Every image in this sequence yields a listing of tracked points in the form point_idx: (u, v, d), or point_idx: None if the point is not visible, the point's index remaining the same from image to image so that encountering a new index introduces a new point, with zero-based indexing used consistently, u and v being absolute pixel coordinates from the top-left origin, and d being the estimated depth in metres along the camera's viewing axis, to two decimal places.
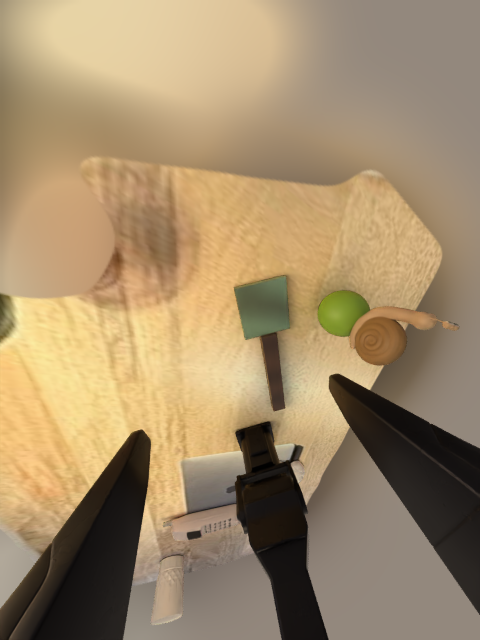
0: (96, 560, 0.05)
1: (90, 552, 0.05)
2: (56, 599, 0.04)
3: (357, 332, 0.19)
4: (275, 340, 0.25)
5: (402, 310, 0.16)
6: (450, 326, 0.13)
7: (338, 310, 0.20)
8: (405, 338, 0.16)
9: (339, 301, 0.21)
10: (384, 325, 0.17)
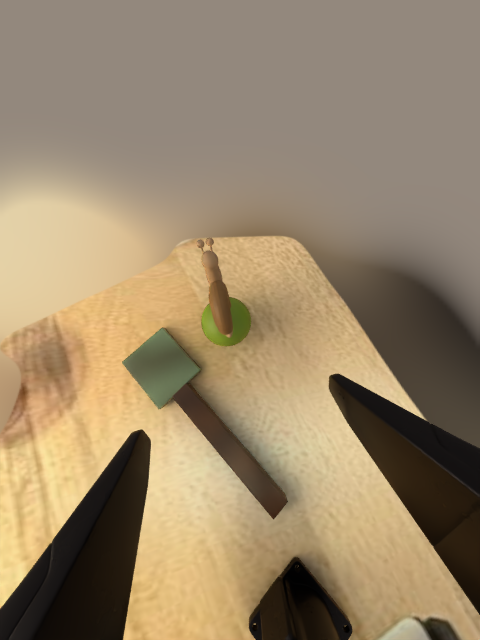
0: (96, 560, 0.05)
1: (90, 552, 0.05)
2: (56, 599, 0.04)
3: None
4: (189, 390, 0.21)
5: None
6: (198, 242, 0.13)
7: (203, 317, 0.20)
8: (216, 283, 0.14)
9: (203, 312, 0.20)
10: None
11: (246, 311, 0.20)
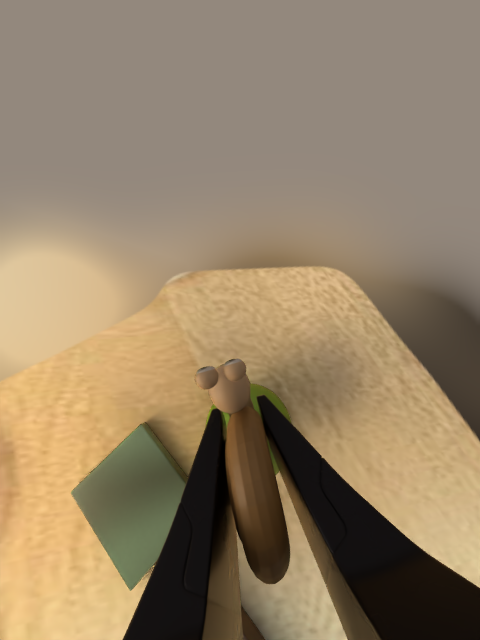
0: (222, 519, 0.05)
1: (218, 511, 0.05)
2: (211, 547, 0.04)
3: None
4: None
5: None
6: (200, 379, 0.04)
7: None
8: (247, 451, 0.06)
9: None
10: None
11: None
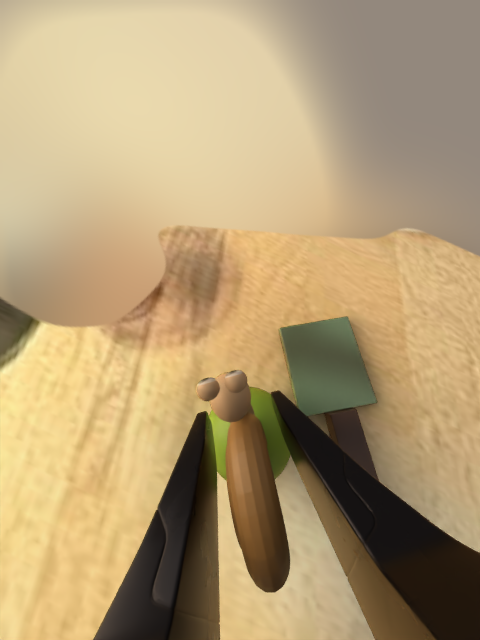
0: (199, 527, 0.05)
1: (195, 518, 0.05)
2: (183, 557, 0.04)
3: None
4: (357, 423, 0.14)
5: None
6: (201, 391, 0.04)
7: None
8: (248, 459, 0.06)
9: None
10: None
11: None
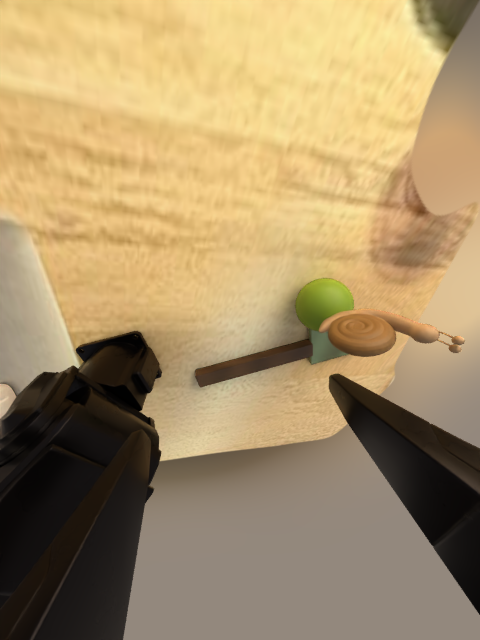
0: (96, 560, 0.05)
1: (90, 552, 0.05)
2: (56, 599, 0.04)
3: (340, 317, 0.16)
4: (306, 356, 0.25)
5: (405, 317, 0.14)
6: (462, 341, 0.11)
7: (337, 288, 0.17)
8: (395, 340, 0.13)
9: (341, 284, 0.18)
10: (379, 320, 0.14)
11: None
